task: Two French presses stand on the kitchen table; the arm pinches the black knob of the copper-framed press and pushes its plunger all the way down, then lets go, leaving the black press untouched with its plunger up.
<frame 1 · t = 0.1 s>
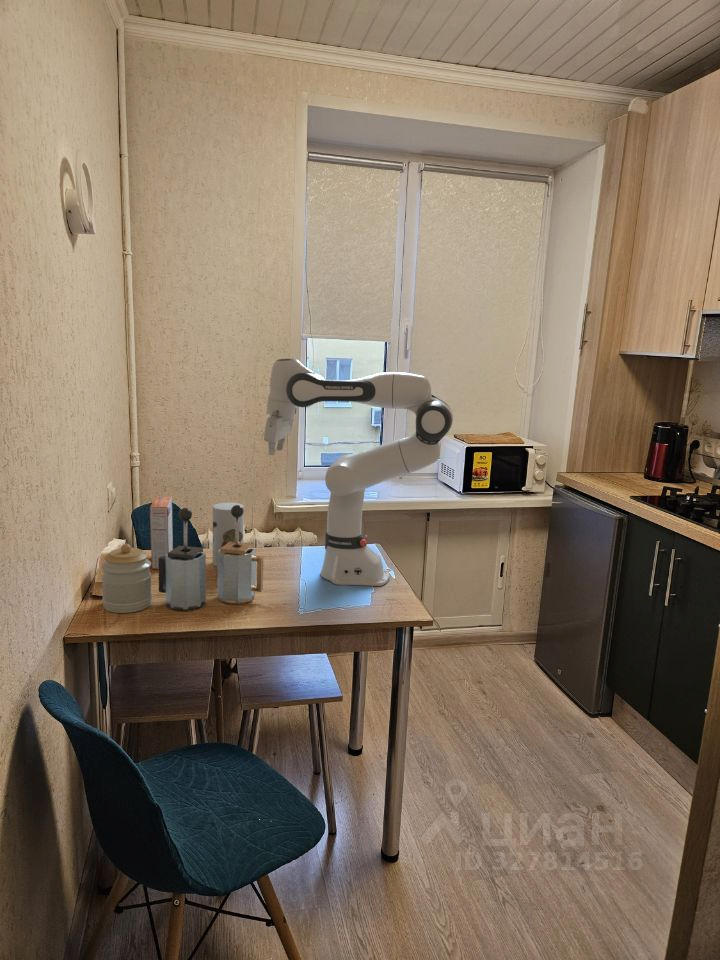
hand: (275, 452, 211), 39 cm above the table, tool pointing down, fingers open, 8 cm apart
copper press: (236, 597, 193), on the table
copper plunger: (237, 534, 189), point 19 cm above the table, slide at 0.0 cm
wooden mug: (231, 579, 208), on the table
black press: (186, 603, 187), on the table
black plunger: (185, 538, 183), point 19 cm above the table, slide at 0.0 cm
container: (227, 564, 222), on the table
cracker box: (162, 563, 220), on the table
jar: (127, 605, 184), on the table
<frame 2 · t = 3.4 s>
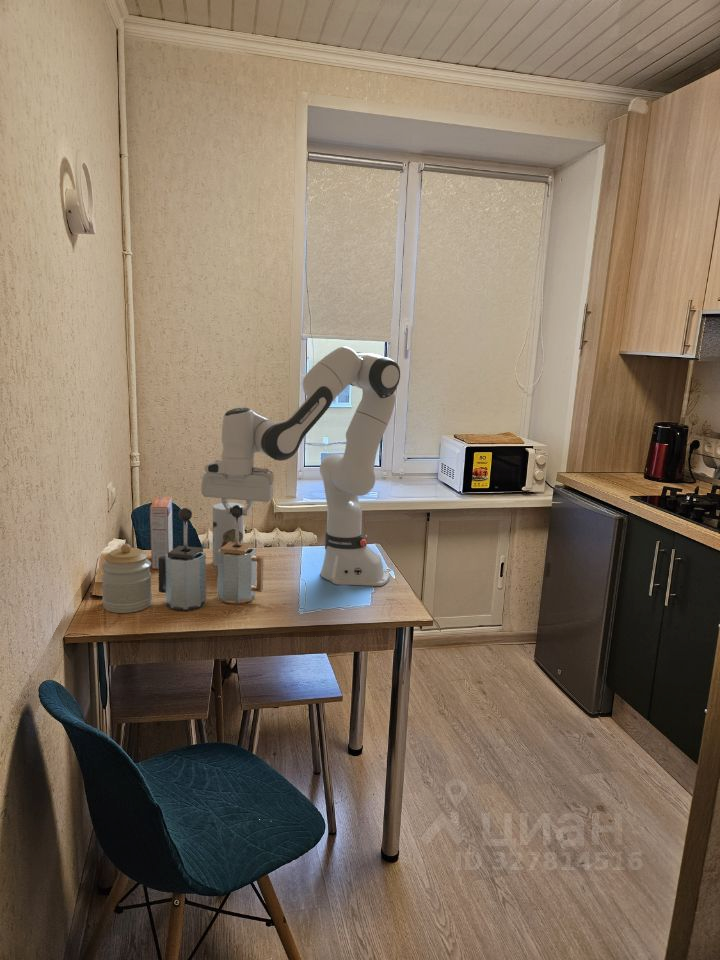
hand: (237, 514, 188), 25 cm above the table, tool pointing down, fingers closed on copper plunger, 4 cm apart
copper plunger: (237, 534, 189), point 19 cm above the table, slide at 0.0 cm, touching gripper
everything else where it was.
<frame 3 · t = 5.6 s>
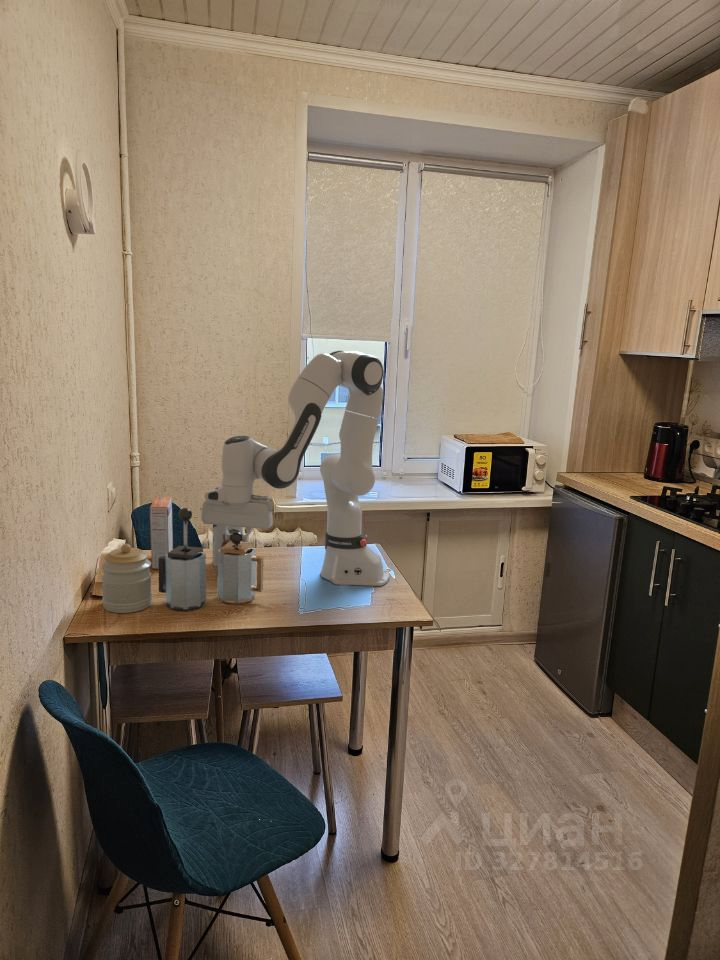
hand: (236, 540, 189), 17 cm above the table, tool pointing down, fingers closed on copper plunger, 4 cm apart
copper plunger: (236, 560, 190), point 11 cm above the table, slide at 7.9 cm, touching gripper
everything else where it was.
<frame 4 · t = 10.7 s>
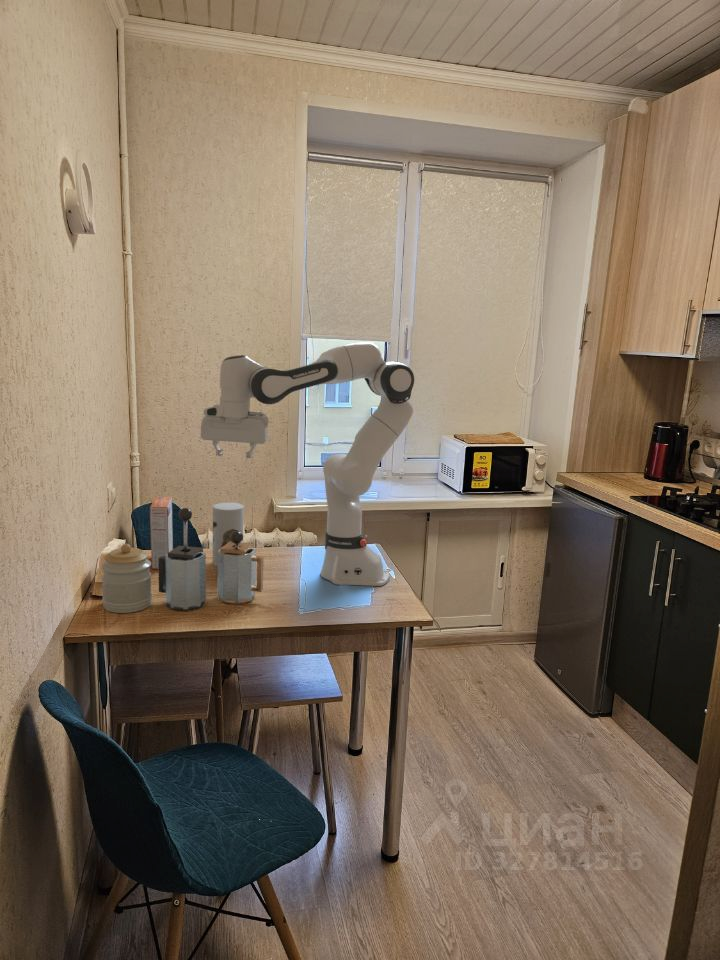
hand: (234, 456, 199), 39 cm above the table, tool pointing down, fingers open, 8 cm apart
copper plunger: (236, 560, 190), point 12 cm above the table, slide at 7.7 cm
everything else where it was.
at the end: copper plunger slide at 7.7 cm; black plunger slide at 0.0 cm; the gripper is holding nothing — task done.
